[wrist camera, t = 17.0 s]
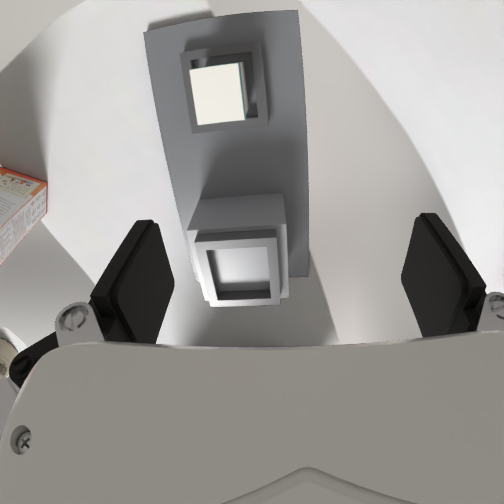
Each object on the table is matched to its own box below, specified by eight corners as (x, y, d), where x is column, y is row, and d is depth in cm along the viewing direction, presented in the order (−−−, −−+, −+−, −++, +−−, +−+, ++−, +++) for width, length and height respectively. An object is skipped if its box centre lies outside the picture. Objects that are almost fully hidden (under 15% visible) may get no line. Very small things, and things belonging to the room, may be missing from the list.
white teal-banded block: (204, 66, 27) (188, 69, 22) (244, 61, 27) (238, 62, 21) (210, 111, 30) (197, 125, 25) (249, 107, 30) (245, 120, 24)
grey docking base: (146, 32, 25) (106, 29, 18) (296, 11, 24) (308, -5, 16) (197, 277, 45) (185, 326, 38) (307, 271, 44) (314, 322, 36)
